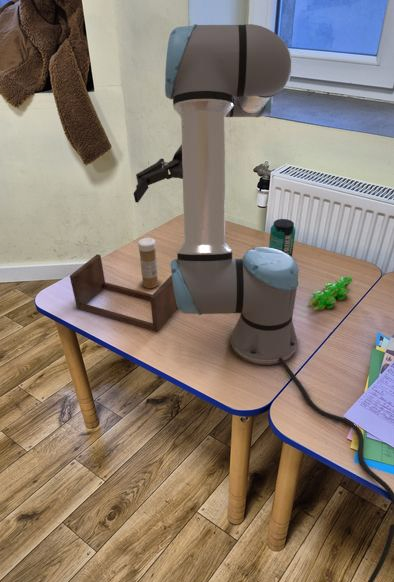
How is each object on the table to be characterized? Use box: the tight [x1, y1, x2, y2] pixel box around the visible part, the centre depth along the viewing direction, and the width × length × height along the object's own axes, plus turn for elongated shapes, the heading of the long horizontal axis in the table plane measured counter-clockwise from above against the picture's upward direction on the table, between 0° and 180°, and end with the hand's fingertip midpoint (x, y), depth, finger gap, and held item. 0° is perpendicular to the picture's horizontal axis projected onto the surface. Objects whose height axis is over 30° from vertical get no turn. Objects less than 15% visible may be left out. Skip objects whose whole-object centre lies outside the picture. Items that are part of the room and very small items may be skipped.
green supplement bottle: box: [268, 218, 296, 258], centre depth 137 cm, size 7×7×12 cm
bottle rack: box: [69, 253, 178, 333], centre depth 120 cm, size 12×24×10 cm, turn 65°
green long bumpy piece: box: [306, 275, 354, 311], centre depth 123 cm, size 7×18×4 cm, turn 134°
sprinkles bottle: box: [137, 237, 159, 289], centre depth 127 cm, size 5×5×14 cm
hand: (159, 202), depth 117 cm, fingers open, 13 cm apart
